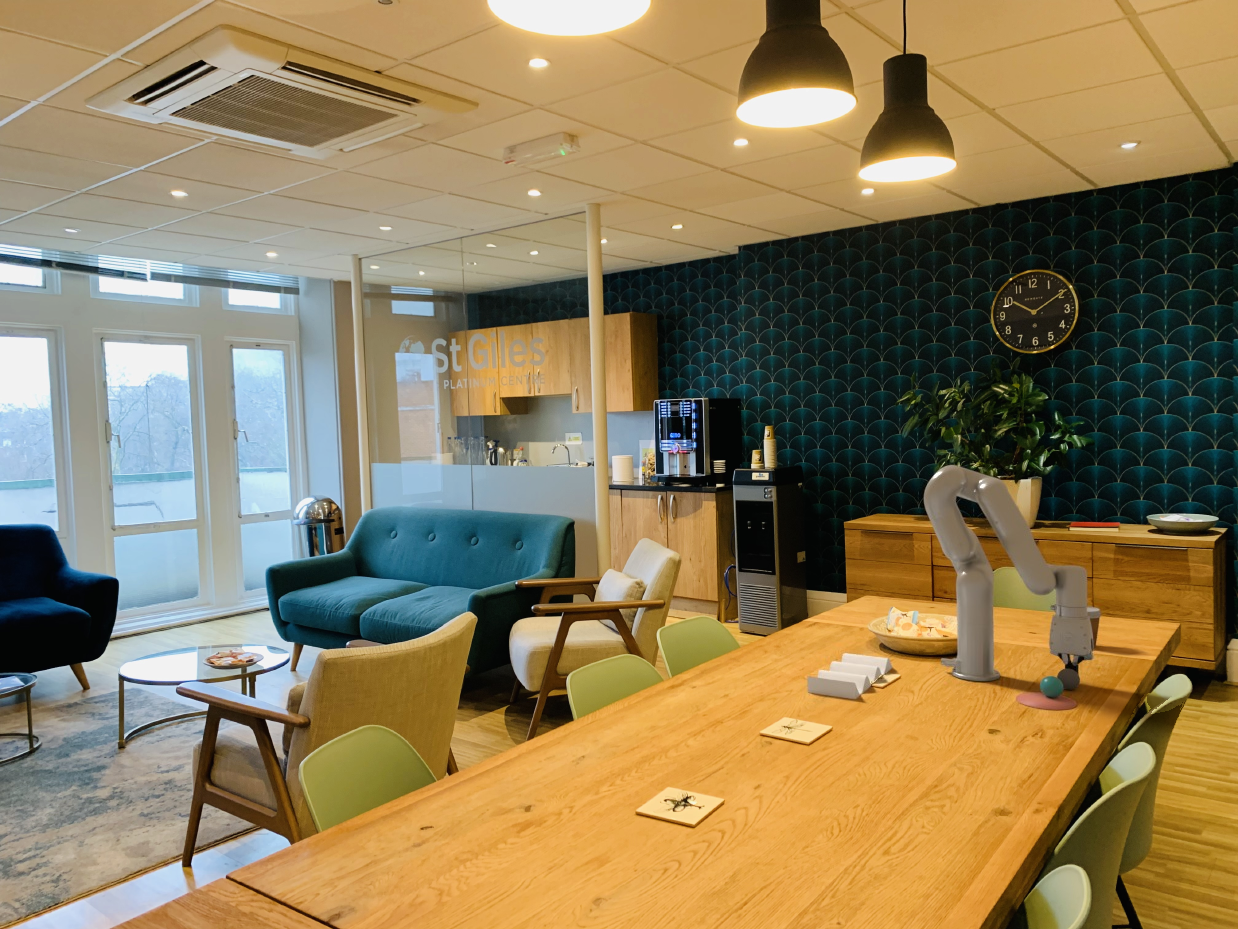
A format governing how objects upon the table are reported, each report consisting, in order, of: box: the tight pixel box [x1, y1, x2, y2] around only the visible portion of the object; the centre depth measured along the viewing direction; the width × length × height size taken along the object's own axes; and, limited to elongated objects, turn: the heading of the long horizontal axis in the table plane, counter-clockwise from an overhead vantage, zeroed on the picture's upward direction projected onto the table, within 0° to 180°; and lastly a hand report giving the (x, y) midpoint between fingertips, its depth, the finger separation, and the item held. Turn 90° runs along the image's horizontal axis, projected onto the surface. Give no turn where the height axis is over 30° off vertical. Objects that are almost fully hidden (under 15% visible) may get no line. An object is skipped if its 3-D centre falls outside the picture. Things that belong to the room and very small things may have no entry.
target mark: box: [1015, 691, 1077, 711], centre depth 228 cm, size 14×14×1 cm
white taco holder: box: [806, 652, 893, 700], centre depth 252 cm, size 13×35×5 cm, turn 147°
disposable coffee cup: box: [1087, 606, 1102, 649], centre depth 280 cm, size 10×10×12 cm
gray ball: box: [1056, 668, 1081, 691], centre depth 237 cm, size 6×6×6 cm
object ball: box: [1039, 675, 1065, 698], centre depth 231 cm, size 6×6×6 cm
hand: (1071, 678), depth 242 cm, fingers closed
